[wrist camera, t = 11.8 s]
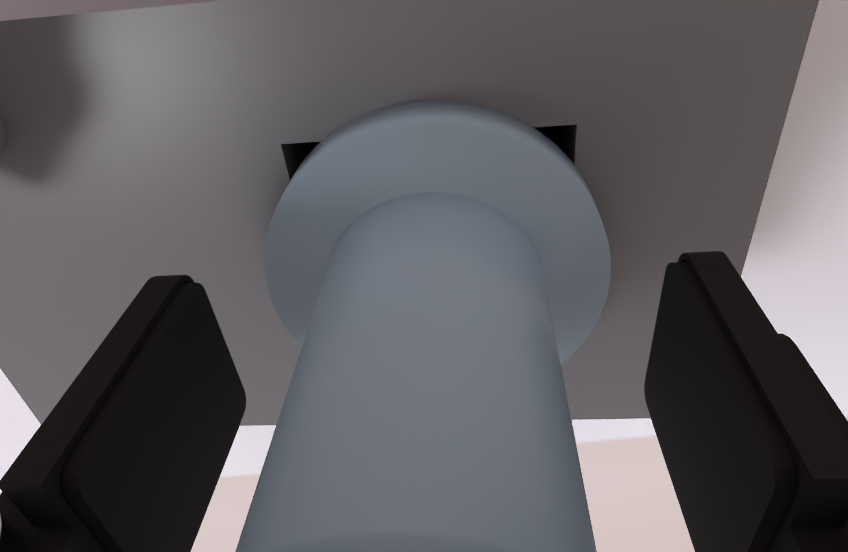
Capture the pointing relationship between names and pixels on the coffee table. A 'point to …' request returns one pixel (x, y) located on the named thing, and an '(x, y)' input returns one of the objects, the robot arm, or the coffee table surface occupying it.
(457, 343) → the plug
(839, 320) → the coffee table surface
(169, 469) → the robot arm
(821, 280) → the coffee table surface
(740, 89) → the socket block
